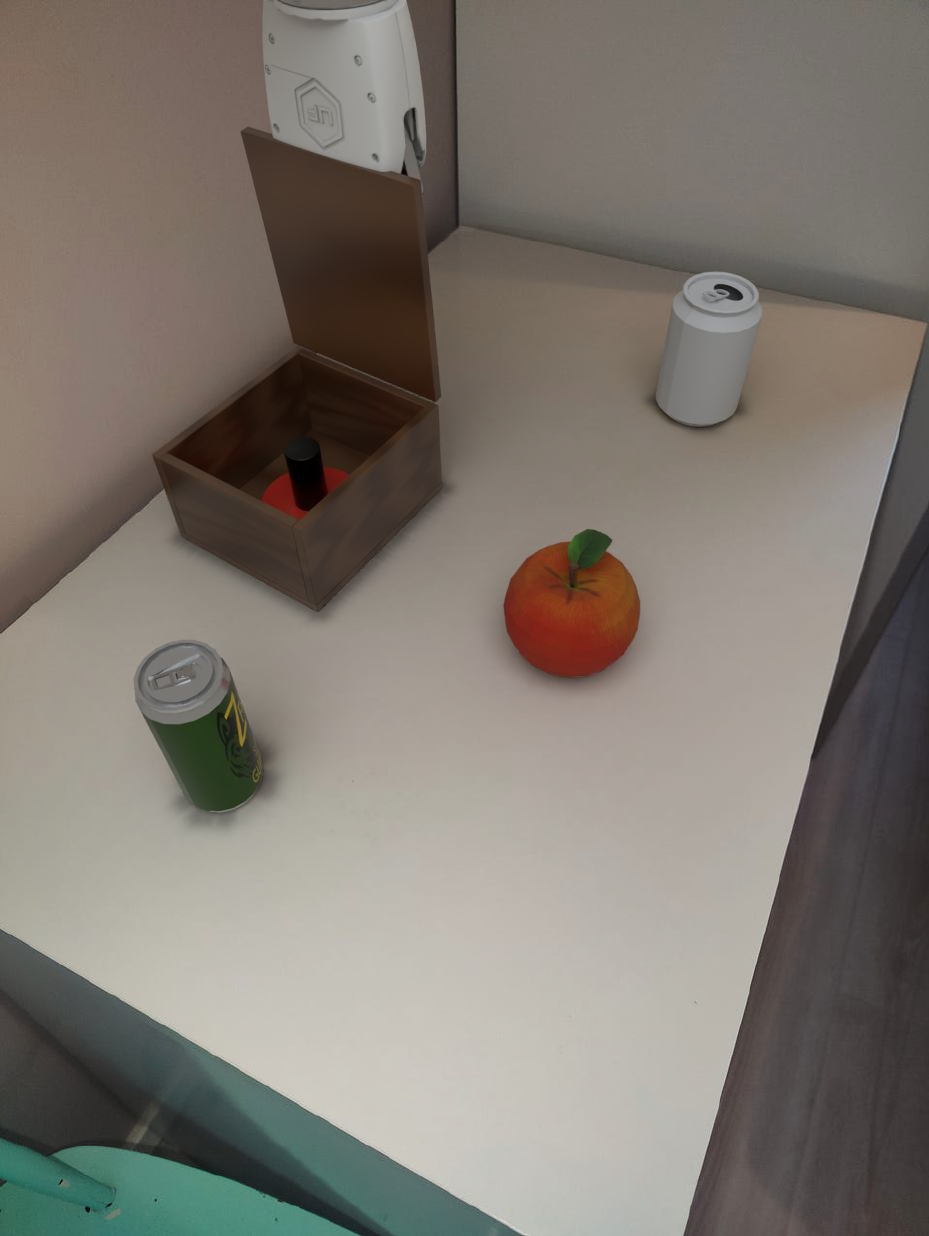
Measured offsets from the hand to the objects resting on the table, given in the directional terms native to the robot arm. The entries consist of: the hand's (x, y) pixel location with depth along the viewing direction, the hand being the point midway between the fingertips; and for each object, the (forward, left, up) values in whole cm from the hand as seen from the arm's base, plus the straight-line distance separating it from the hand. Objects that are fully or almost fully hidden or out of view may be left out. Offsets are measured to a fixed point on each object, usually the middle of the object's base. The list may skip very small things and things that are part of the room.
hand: (364, 263), depth 67 cm
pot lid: (-5, -8, -17) cm, 20 cm away
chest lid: (-1, -2, 0) cm, 2 cm away
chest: (-5, -8, -18) cm, 20 cm away
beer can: (-6, -34, -18) cm, 39 cm away
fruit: (+16, -21, -18) cm, 32 cm away
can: (+28, +8, -18) cm, 34 cm away
